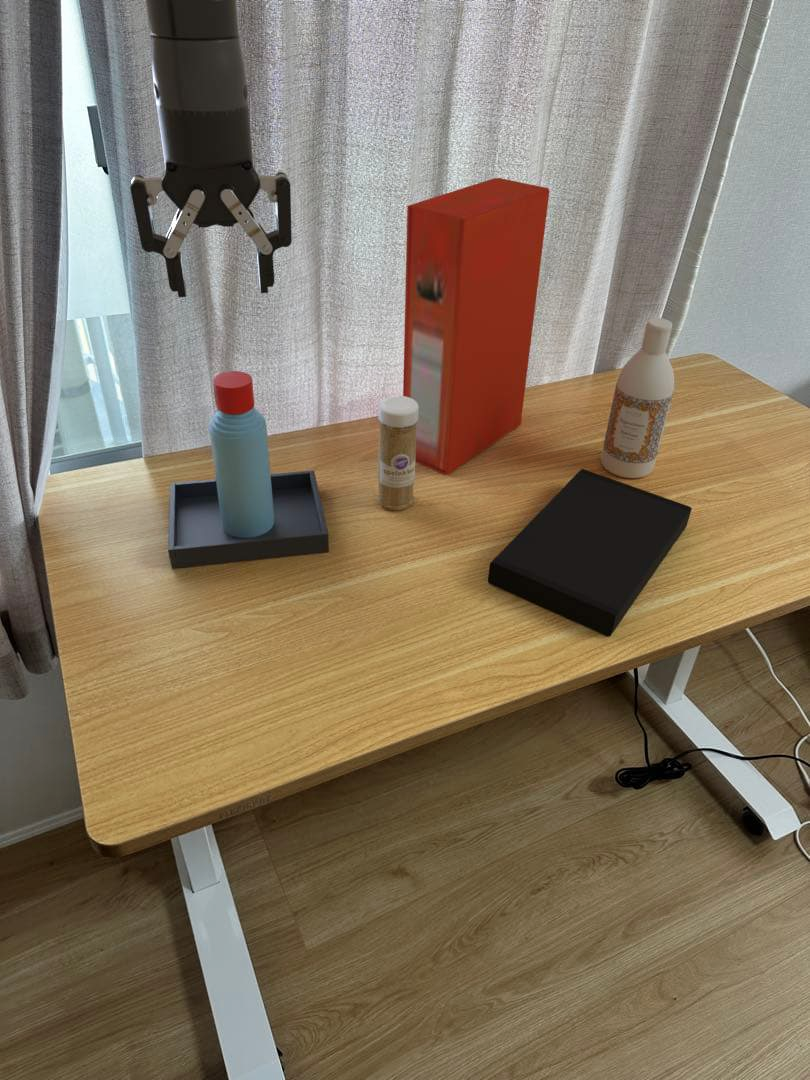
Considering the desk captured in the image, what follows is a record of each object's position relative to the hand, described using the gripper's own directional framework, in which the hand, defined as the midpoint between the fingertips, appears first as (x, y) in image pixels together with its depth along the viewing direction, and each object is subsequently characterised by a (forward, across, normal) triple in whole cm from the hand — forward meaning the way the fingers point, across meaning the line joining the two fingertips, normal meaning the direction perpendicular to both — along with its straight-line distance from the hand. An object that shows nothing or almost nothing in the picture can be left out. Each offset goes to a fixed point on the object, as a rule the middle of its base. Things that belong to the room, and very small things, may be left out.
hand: (223, 292), depth 77 cm
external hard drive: (+28, -38, +12) cm, 49 cm away
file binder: (+28, -30, -15) cm, 44 cm away
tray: (+28, 0, 0) cm, 28 cm away
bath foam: (+28, -50, -5) cm, 58 cm away
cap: (+12, 0, 0) cm, 12 cm away
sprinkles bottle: (+28, -18, -2) cm, 33 cm away
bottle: (+27, 0, 0) cm, 27 cm away
